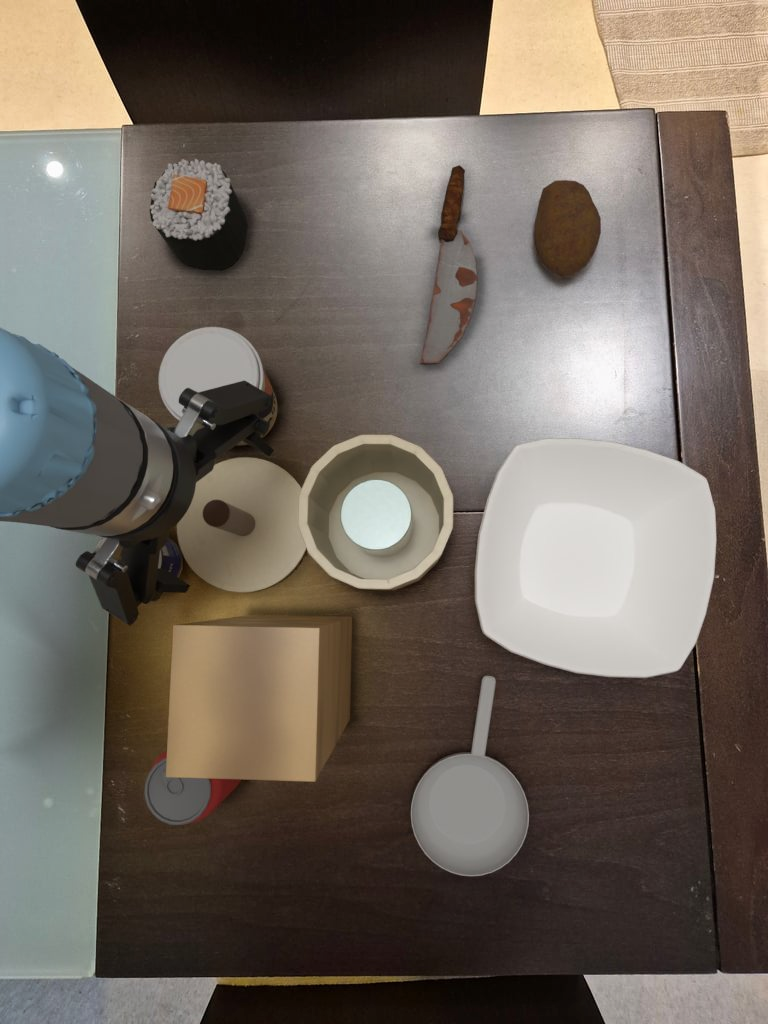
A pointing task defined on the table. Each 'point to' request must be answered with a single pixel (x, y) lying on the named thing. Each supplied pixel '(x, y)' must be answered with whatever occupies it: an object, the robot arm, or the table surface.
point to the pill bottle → (165, 557)
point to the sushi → (199, 215)
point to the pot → (369, 462)
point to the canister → (377, 517)
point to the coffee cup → (212, 368)
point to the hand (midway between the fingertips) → (217, 512)
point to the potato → (566, 228)
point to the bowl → (596, 557)
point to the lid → (243, 526)
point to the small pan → (470, 805)
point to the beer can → (183, 794)
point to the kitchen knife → (451, 278)
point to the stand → (258, 696)
